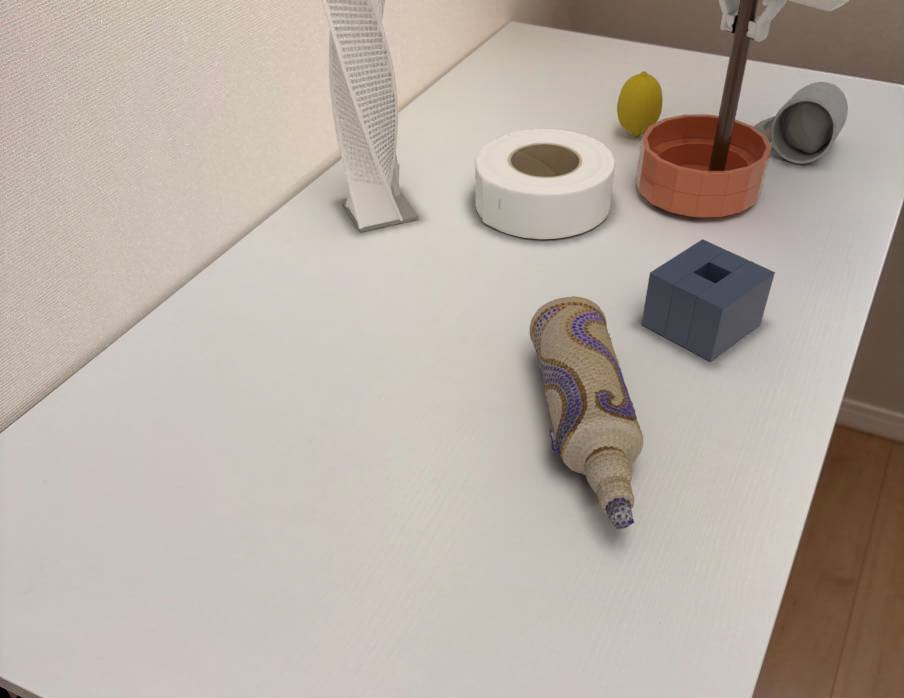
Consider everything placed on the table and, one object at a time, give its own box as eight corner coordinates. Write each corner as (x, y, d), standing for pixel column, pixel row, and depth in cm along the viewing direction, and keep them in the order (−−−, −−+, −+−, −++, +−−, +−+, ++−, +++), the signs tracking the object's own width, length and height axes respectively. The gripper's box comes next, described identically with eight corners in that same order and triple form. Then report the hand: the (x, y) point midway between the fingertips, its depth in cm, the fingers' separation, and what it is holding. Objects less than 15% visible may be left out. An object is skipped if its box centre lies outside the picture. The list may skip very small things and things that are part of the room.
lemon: (628, 122, 123) (636, 58, 117) (665, 134, 121) (675, 70, 115) (605, 138, 120) (612, 73, 114) (642, 151, 118) (651, 85, 112)
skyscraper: (422, 225, 107) (410, -54, 86) (354, 240, 105) (325, -41, 84) (398, 191, 112) (380, -80, 91) (333, 205, 110) (299, -69, 89)
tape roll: (446, 203, 110) (445, 157, 106) (541, 158, 117) (544, 114, 113) (541, 257, 102) (544, 210, 98) (638, 206, 109) (644, 160, 105)
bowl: (782, 191, 111) (795, 141, 106) (710, 237, 104) (721, 186, 100) (684, 151, 118) (692, 103, 113) (611, 192, 111) (617, 142, 107)
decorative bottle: (524, 353, 91) (527, 294, 86) (601, 349, 91) (609, 290, 86) (566, 555, 74) (574, 496, 69) (661, 549, 74) (675, 490, 69)
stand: (760, 324, 94) (775, 272, 89) (710, 362, 90) (722, 308, 85) (691, 290, 98) (702, 238, 93) (641, 324, 94) (649, 272, 89)
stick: (725, 184, 108) (764, -8, 93) (715, 189, 107) (753, -3, 92) (711, 178, 109) (748, -12, 94) (702, 184, 108) (737, -7, 93)
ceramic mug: (842, 142, 118) (859, 79, 113) (825, 170, 114) (843, 106, 108) (758, 126, 122) (772, 64, 116) (739, 153, 117) (752, 89, 112)
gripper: (897, -114, 82) (851, 53, 92) (704, -153, 92) (681, 1, 102) (859, -97, 79) (816, 73, 89) (664, -140, 89) (645, 18, 99)
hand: (743, 34), depth 96 cm, fingers closed on stick, 2 cm apart
